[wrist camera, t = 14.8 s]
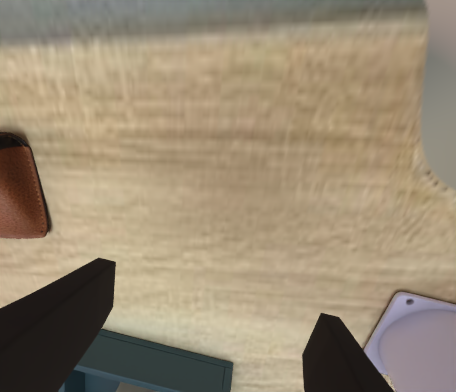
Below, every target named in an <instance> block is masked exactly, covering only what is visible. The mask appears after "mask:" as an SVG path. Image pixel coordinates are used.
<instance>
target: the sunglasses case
mask: <svg viewBox="0 0 456 392" xmlns="http://www.w3.org/2000/svg"><path fill="white" fill-rule="evenodd" d="M48 228H49V224H48V219H47V212H46V205H45V200H44V196H43V192H42V188H41V184H40V180H39V176H38V173H37V169H36V165H35V162H34V158H33V155H32V152H31V148H30V147H29V146H28V145H27V144H26V143H25V141H24V140H22V139H21V138H20V137H18V136H16V135H14V134H12V133H7V132H2V133H0V238H16V239H21V238H25V239H28V238H31V239H32V238H41V237H45V236H46V234H47V232H48Z"/></svg>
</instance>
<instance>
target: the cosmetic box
mask: <svg viewBox="0 0 456 392" xmlns="http://www.w3.org/2000/svg"><path fill="white" fill-rule="evenodd" d="M116 392H158V391H154V390H150V389H146V388H142V387H139V386H135V385H131V384H127V383H123V382H120V384H119V386H118V388H117V390H116Z"/></svg>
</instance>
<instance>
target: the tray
mask: <svg viewBox="0 0 456 392" xmlns="http://www.w3.org/2000/svg"><path fill="white" fill-rule="evenodd" d="M232 371H233V363H232V362H228V361H224V360H220V359H216V358H212V357H208V356H204V355H200V354H196V353H192V352H188V351H185V350H181V349H177V348H173V347H169V346H165V345H161V344H157V343H153V342H149V341H145V340H142V339H138V338H134V337H130V336H126V335H122V334H118V333H114V332H110V331H106V330H102V329H101V330H100V331H99V333H98V335H97V337H96V338H95V339H94V341H93V342H92V344H91V345H90V347H89V348H88V350H87V351H86V352H85V354H84V355H83V357H82V358H81V360H80V361H79V362H78V364H77V365H76V367H75V368H74V369H73V371H72V372H71V374H70V375H69V376H68V378H67V379H66V381H65V382H64V384H63V385H62V386H61V388H60V389H59V391H58V392H116V390H117V388H118V386H119V384H120V382H123V383H127V384H131V385H135V386H139V387H142V388H146V389H150V390H154V391H158V392H230V390H231V381H232Z"/></svg>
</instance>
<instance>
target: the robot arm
mask: <svg viewBox="0 0 456 392" xmlns="http://www.w3.org/2000/svg"><path fill="white" fill-rule="evenodd" d="M115 266H116V262H114V261H110V260H106V259H102V258H97V259H95V260H93V261H92V262H90V263H88V264H86V265H84V266H82V267H80V268H79V269H77V270H75V271H73V272H71V273H69V274H68V275H66V276H64V277H62V278H60V279H58V280H56V281H54V282H53V283H51V284H49V285H47V286H45V287H43V288H41V289H39V290H37V291H35V292H33V293H31V294H29V295H27V296H25V297H23V298H21V299H19V300H17V301H15V302H13V303H11V304H9V305H7V306H4V307H2V308H0V392H58V391H59V389H60V388H61V386H62V385H63V384H64V382H65V381H66V379H67V378H68V376H69V375H70V374H71V372H72V371H73V369H74V368H75V367H76V365H77V364H78V362H79V361H80V360H81V358H82V357H83V355H84V354H85V352H86V351H87V350H88V348H89V347H90V345H91V344H92V342H93V341H94V339H95V338H96V337H97V335H98V333H99V331H100V330H101V328H102V326H103V324H104V323H105V321H106V319H107V317H108V315H109V313H110V311H111V310H112V308H113V299H114V283H115ZM409 299H411V300H410V301H407V300H409ZM302 358H303V378H304V390H305V392H394V391H393V390H392V388H391V387H390V386H389V384H388V383H387V382H386V380H385V379H384V378H383V376H382V375H381V374H380V373H382V374H386V375H389V378H390V380H391V382H392V384H393V386H394V389H395V391H396V392H456V304H452V303H448V302H443V301H439V300H435V299H431V298H427V297H423V296H419V295H415V294H411V293H406V292H398V293H396V294H395V295H394V297H393V299H392V301H391V302H390V304H389V306H388V308H387V309H386V311H385V313H384V315H383V317H382V318H381V320H380V322H379V324H378V325H377V327H376V329H375V331H374V333H373V334H372V336H371V338H370V340H369V341H368V343H367V345H366V347H365V348H364V350H363V349H362V348H361V347H360V345H359V344H358V342H357V341H356V340H355V338H354V337H353V335H352V334H351V333H350V331H349V330H348V329H347V327H346V326H345V325H344V323H343V322H342V321H341V319H340V318H339V317H336V316H332V315H328V314H324V313H321V314H320V316H319V319H318V321H317V323H316V325H315V328H314V330H313V332H312V334H311V336H310V339H309V341H308V343H307V345H306V348H305V350H304V352H303V354H302Z"/></svg>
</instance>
